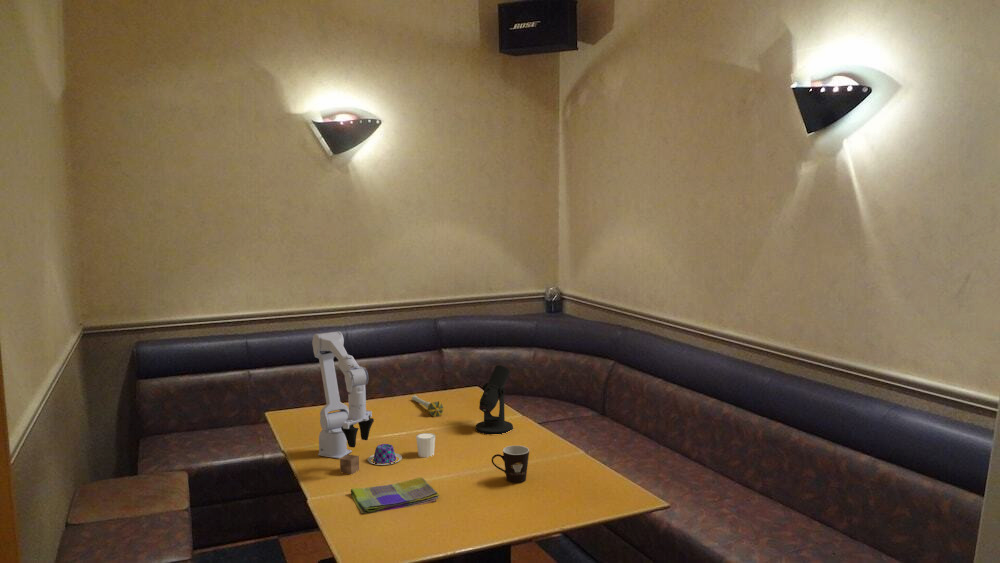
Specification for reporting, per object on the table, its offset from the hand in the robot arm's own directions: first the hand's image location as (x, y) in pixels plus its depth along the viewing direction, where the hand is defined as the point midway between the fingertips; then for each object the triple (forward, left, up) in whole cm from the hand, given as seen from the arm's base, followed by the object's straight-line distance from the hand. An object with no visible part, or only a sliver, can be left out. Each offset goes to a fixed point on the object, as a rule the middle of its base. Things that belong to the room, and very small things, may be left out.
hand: (358, 443), depth 245 cm
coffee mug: (+51, +13, -10) cm, 53 cm away
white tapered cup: (+14, +22, -10) cm, 28 cm away
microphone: (+25, +58, -10) cm, 64 cm away
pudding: (+3, +12, -10) cm, 16 cm away
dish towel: (+23, -14, -10) cm, 29 cm away
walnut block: (-2, -2, -10) cm, 10 cm away
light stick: (-14, +71, -10) cm, 73 cm away
